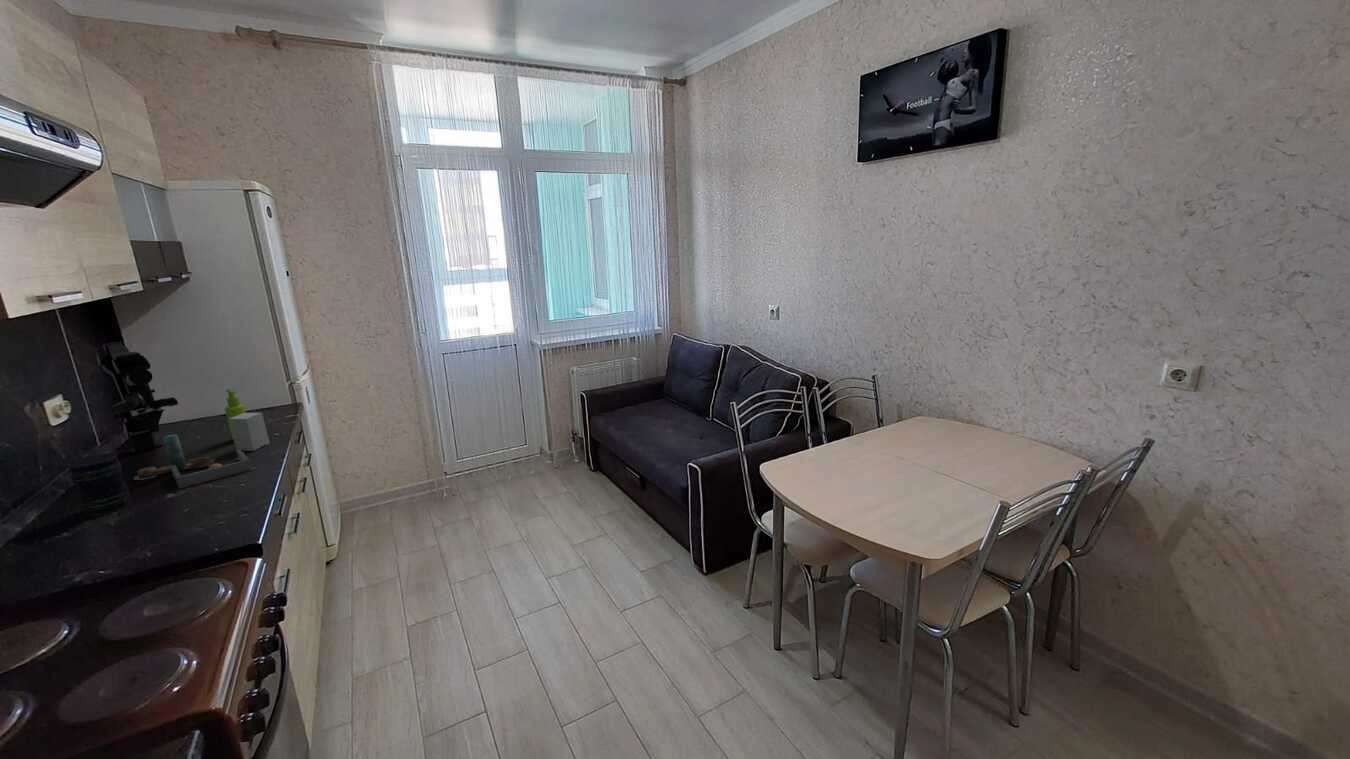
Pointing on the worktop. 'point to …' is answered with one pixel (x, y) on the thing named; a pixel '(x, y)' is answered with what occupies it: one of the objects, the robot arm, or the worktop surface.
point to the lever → (175, 459)
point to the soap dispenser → (233, 406)
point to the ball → (214, 466)
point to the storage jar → (99, 483)
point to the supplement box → (249, 431)
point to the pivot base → (146, 477)
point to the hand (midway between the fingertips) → (154, 432)
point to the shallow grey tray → (212, 472)
